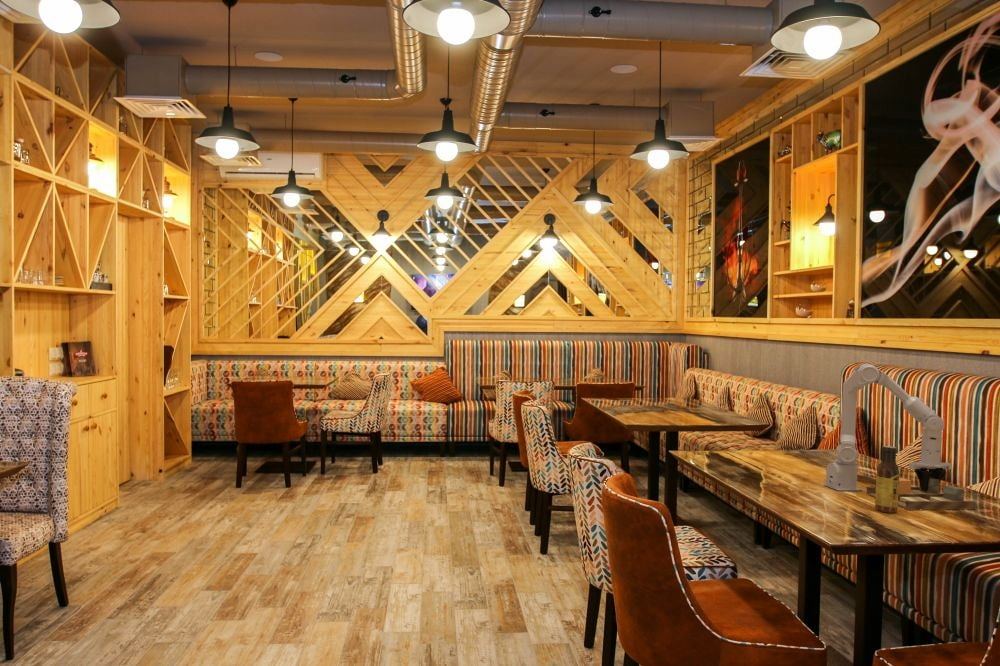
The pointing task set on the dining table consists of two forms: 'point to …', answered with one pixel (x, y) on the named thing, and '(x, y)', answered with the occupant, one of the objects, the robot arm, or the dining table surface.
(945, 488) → the lane board
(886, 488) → the sauce bottle
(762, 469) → the dining table surface
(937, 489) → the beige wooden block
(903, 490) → the orange cube
